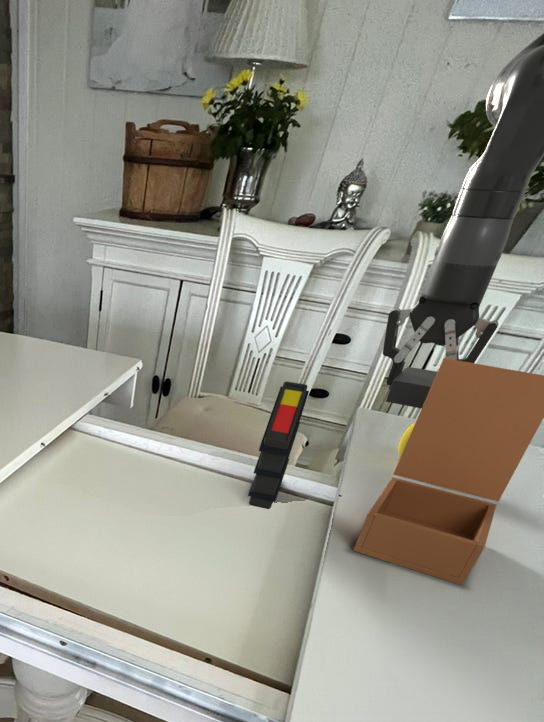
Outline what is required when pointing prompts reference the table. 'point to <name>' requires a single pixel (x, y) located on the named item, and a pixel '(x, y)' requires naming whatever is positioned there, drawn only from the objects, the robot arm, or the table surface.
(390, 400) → the dark grey block
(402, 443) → the lemon
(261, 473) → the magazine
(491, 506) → the brown case base
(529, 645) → the table surface
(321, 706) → the table surface
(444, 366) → the case cover
